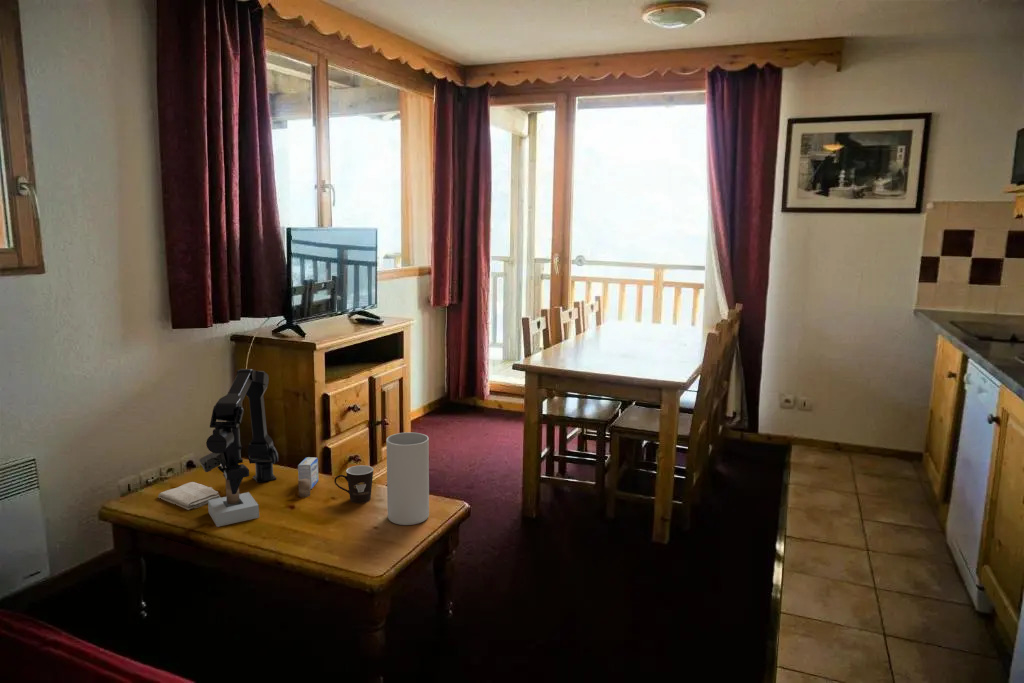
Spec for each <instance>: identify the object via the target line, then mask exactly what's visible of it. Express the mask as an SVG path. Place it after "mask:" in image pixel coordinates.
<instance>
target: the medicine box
mask: <svg viewBox="0 0 1024 683" xmlns="http://www.w3.org/2000/svg"><path fill="white" fill-rule="evenodd" d="M297 472H298V475H297V477H298V481H299V480H301V479H309V480H310V490H312V489H313V488H314V486H316V484H317V483H318V482H319V459H318V457H315V456H314V457H310V456H308V457H305V458H304V459H303V460H302V461H301V462H300V463H299V464H298V465H297Z"/></svg>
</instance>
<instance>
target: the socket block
mask: <svg viewBox="0 0 1024 683" xmlns="http://www.w3.org/2000/svg"><path fill="white" fill-rule="evenodd" d="M239 500H240V501H239V502H238V503H236V504H227V498H226V496H223V497H221V498H217V499H212V500H208V504H207V507H208V514H209V516H210V517H211V519H212V521H213V522H214V524H215V526H216V527H217V528H219V527H223V526H226V525H227V526H228V525H231V524H235V523H236V524H237V523H241V522H245V521H250V520H254V519H259V518H260V509H259V508H260V507H259V506H260V504H258V502H257V501H256V500H255V498H254V497H253V496H252V494H251V493H250V492H249V491H247V492H243V493H239Z"/></svg>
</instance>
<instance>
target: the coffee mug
mask: <svg viewBox="0 0 1024 683" xmlns="http://www.w3.org/2000/svg"><path fill="white" fill-rule="evenodd" d="M345 473H346V475H345V474H338V475H337V476H336V477H335V478H334V485H335V486H336V487H338V489H341V490H343V491H344V492H346V493H348V494H349V499H350V502H351V503H354V504H365V503H368V502H370V501H371V498H372V497H371V496H372V488H373V487H372V486H373V477H374V476H373V475H374V468H373V467H372V466H370V465H363V464H362V465H361V464H360V465H354V466H350V467H348V468H347V469H346V471H345ZM339 478H344V479H345V481H346V482H347V485H348V486H347V487H348V489H347V488H345V487H342V486H340V485H339V484H338V483H337V480H338V479H339Z"/></svg>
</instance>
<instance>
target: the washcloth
mask: <svg viewBox="0 0 1024 683" xmlns="http://www.w3.org/2000/svg"><path fill="white" fill-rule="evenodd" d="M157 498H159V499H160V498H161V500H163V501H166V502H168V503H170V504H173V505H175V504H176V506H179V507H181V508H183V509H185V510H187V511H190V510H193V508H194V509H197V508H200V507H203V506H205V505H208V500H212V499H217V498H222V497H221V496H220V494H219V491H217V490H215V489H213V487H212V486H207V485H204V484H201V483H199V482H198V483H197V482H195V481H190V482H187V483H184V484H182V485H180V486H177V487H175V488H170V489H166V490H164V491H162V492H160V493H158V497H157Z"/></svg>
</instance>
